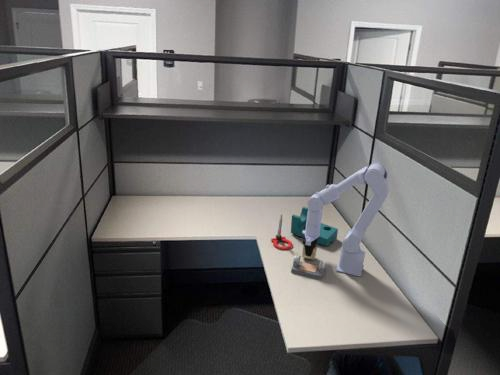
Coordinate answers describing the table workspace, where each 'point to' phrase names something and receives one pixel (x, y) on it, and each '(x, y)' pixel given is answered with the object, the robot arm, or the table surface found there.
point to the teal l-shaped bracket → (326, 232)
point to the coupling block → (311, 255)
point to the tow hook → (281, 238)
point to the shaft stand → (308, 268)
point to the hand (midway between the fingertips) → (309, 253)
